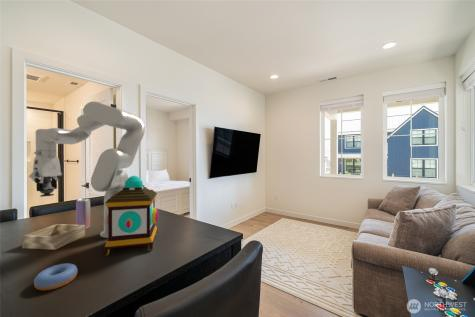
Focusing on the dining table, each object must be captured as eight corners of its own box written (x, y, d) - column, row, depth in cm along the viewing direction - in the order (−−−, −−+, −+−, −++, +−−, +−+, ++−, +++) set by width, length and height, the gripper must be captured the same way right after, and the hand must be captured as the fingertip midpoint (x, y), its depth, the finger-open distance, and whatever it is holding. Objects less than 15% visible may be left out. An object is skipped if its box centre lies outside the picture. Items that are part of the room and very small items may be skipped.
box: (84, 235, 97) (84, 225, 97) (55, 249, 82) (55, 237, 82) (56, 234, 98) (56, 224, 98) (22, 248, 83) (22, 236, 83)
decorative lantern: (98, 258, 75) (98, 178, 75) (115, 237, 94) (115, 173, 94) (155, 252, 81) (155, 177, 80) (160, 233, 100) (160, 173, 99)
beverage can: (78, 230, 103) (78, 201, 103) (74, 227, 106) (74, 199, 106) (92, 227, 108) (91, 199, 107) (88, 224, 111) (88, 197, 111)
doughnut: (28, 297, 54) (31, 279, 55) (36, 280, 62) (38, 265, 63) (75, 287, 60) (77, 271, 61) (77, 273, 68) (79, 259, 69)
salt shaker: (45, 196, 98) (44, 172, 98) (35, 196, 99) (35, 172, 99) (58, 194, 104) (57, 171, 103) (49, 194, 105) (48, 171, 105)
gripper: (34, 153, 92) (35, 193, 92) (69, 154, 109) (69, 187, 110) (19, 153, 93) (20, 193, 93) (56, 154, 110) (56, 187, 110)
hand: (47, 189), depth 101 cm, fingers closed on salt shaker, 5 cm apart
